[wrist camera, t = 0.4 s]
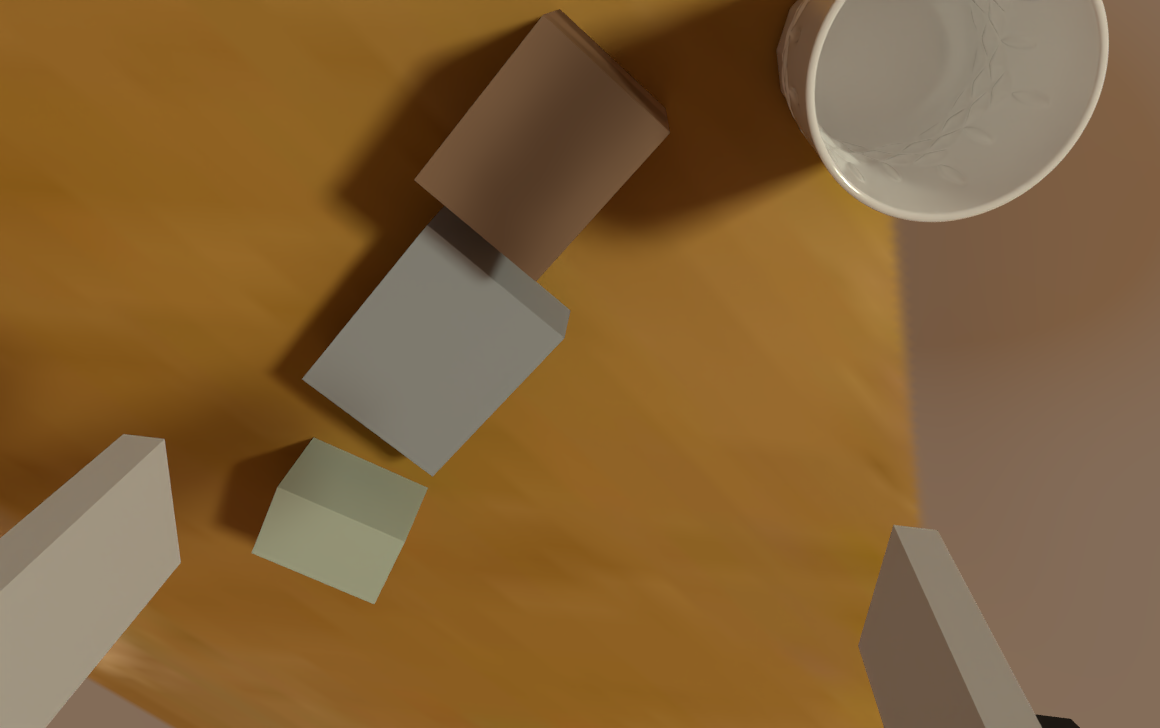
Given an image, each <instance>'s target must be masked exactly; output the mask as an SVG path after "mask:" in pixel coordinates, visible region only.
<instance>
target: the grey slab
mask: <svg viewBox="0 0 1160 728" xmlns="http://www.w3.org/2000/svg"><path fill="white" fill-rule="evenodd" d="M569 314H570V310H569V309H568V308H567V307H566V306H564V305H563V304H562V303H561V302H560V301H558V300H557V299H556V298H555V297H554V296H552V295H551V294H550V293H549V292H548V291H546V290H545V289H544V288H543V287H542V286H541V285H539V284H538V283H537V282H535V281H534V280H533V279H532V278H531V277H529V276H528V275H527V274H526V273H525V272H523V271H522V270H521V269H520V268H519V267H517V266H516V265H515V264H514V263H513V262H511V261H510V260H509V259H508V258H507V257H506V256H504V255H503V254H502V253H501V252H500V251H498V250H497V249H496V248H495V247H494V246H492V245H491V244H490V243H489V242H488V241H486V240H485V239H484V238H483V237H482V236H480V235H479V234H478V233H477V232H476V231H474V230H473V229H472V228H471V227H470V226H468V225H467V224H466V223H465V222H464V221H462V220H461V219H460V218H459V217H458V216H456V215H455V214H454V213H453V212H452V211H450V210H449V209H448V208H447V207H446V206H444V207H443V208H442V209H441V210H440V211H439V212H438V213H437V215H436V216H435V217H434V218H433V219H432V220H431V221H430V222H429V224H428V225H427V226H426V227H425V228H424V230H423V231H422V232H421V233H420V234H419V236H418V237H417V238H416V239H415V241H414V242H413V243H412V244H411V246H410V247H409V248H408V249H407V250H406V252H405V253H404V254H403V255H402V257H401V258H400V259H399V260H398V262H397V263H396V264H395V265H394V266H393V268H392V269H391V270H390V271H389V273H388V274H387V275H386V276H385V278H384V279H383V280H382V281H381V282H380V284H379V285H378V286H377V287H376V289H375V290H374V291H373V292H372V294H371V295H370V296H369V297H368V298H367V300H366V301H365V302H364V303H363V305H362V306H361V307H360V308H359V310H358V311H357V312H356V313H355V314H354V316H353V317H352V318H351V319H350V321H349V322H348V323H347V324H346V326H345V327H344V328H343V329H342V330H341V332H340V333H339V334H338V335H337V337H336V338H335V339H334V340H333V342H332V343H331V344H330V345H329V346H328V348H327V349H326V350H325V351H324V353H323V354H322V355H321V356H320V358H319V359H318V360H317V361H316V362H315V364H314V365H313V366H312V367H311V369H310V370H309V371H308V372H307V374H306V375H305V376H304V377H303V378H302V380H304V381H305V382H306V383H308V384H309V385H310V386H312V387H313V388H314V389H316V390H317V391H319V392H320V393H321V394H323V395H324V396H325V397H327V398H328V399H329V400H331V401H332V402H333V403H335V404H336V405H337V406H339V407H340V408H341V409H343V410H344V411H345V412H347V413H348V414H349V415H351V416H352V417H353V418H355V419H356V420H358V421H359V422H360V423H362V424H363V425H364V426H366V427H367V428H368V429H370V430H371V431H372V432H374V433H375V434H376V435H378V436H379V437H380V438H382V439H383V440H384V441H386V442H387V443H388V444H390V445H391V446H392V447H394V448H395V449H397V450H398V451H399V452H401V453H402V454H403V455H405V456H406V457H407V458H409V459H410V460H411V461H413V462H414V463H415V464H417V465H418V466H419V467H421V468H422V469H423V470H425V471H426V472H427V473H429V474H430V475H431V476H433V475H434V474H435V473H436V472H437V471H438V470H439V469H440V468H441V467H442V466H443V465H444V464H445V463H446V462H447V461H448V460H449V459H450V458H451V456H452V455H453V454H454V453H455V452H456V451H457V450H458V449H459V448H460V447H461V446H462V445H463V444H464V443H465V442H466V441H467V440H468V439H469V438H470V437H471V435H472V434H473V433H474V432H475V431H476V430H477V429H478V428H479V427H480V426H481V425H482V424H483V423H484V422H485V421H486V420H487V419H488V418H489V417H490V416H491V414H492V413H493V412H494V411H495V410H496V409H497V408H498V407H499V406H500V405H501V404H502V403H503V402H504V401H505V400H506V399H507V398H508V397H509V396H510V395H511V393H512V392H513V391H514V390H515V389H516V388H517V387H518V386H519V385H520V384H521V383H522V382H523V381H524V380H525V379H526V378H527V377H528V376H529V375H530V374H531V372H532V371H533V370H534V369H535V368H536V367H537V366H538V365H539V364H540V363H541V362H542V361H543V360H544V359H545V358H546V357H547V356H548V355H549V354H550V353H551V351H552V350H553V349H554V348H555V347H556V346H557V345H558V344H559V343H560V342H561V341H562V340H563V339H564V337H565V333H566V328H567V323H568V319H569Z"/></svg>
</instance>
